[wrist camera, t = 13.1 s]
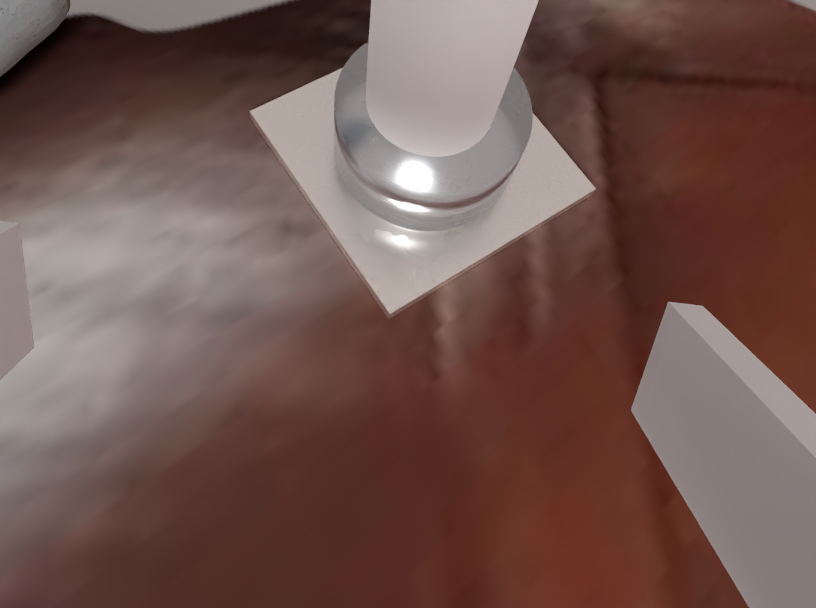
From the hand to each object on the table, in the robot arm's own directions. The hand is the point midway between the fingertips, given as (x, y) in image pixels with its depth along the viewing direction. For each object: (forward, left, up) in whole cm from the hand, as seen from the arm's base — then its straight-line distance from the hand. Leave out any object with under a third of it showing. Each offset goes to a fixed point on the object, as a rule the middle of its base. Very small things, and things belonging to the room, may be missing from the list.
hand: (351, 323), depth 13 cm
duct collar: (-11, +12, -18) cm, 25 cm away
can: (-11, +12, -14) cm, 22 cm away
